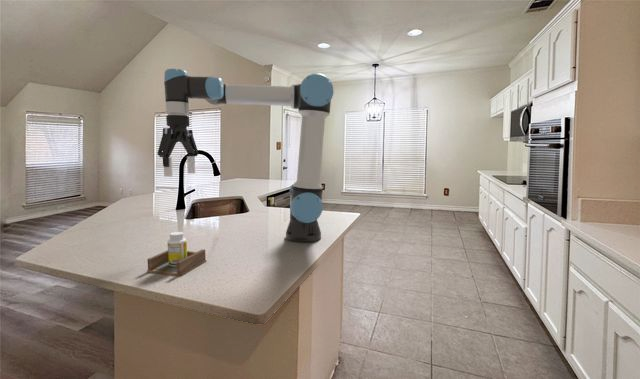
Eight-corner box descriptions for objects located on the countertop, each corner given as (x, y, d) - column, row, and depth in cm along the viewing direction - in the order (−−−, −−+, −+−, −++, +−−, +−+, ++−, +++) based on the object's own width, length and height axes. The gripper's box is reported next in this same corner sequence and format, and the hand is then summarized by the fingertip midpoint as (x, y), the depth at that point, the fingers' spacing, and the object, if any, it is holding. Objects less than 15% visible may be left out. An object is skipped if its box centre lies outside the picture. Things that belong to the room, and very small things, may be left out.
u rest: (206, 261, 110) (206, 249, 110) (181, 276, 98) (181, 262, 97) (175, 258, 113) (174, 246, 113) (147, 272, 101) (146, 259, 100)
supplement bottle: (182, 260, 109) (181, 230, 108) (190, 264, 105) (189, 233, 104) (165, 264, 105) (163, 233, 103) (173, 268, 101) (171, 236, 100)
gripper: (189, 118, 129) (191, 172, 132) (143, 111, 105) (147, 177, 108) (206, 118, 128) (208, 172, 131) (163, 111, 104) (167, 178, 106)
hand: (180, 174), depth 119 cm, fingers open, 13 cm apart
